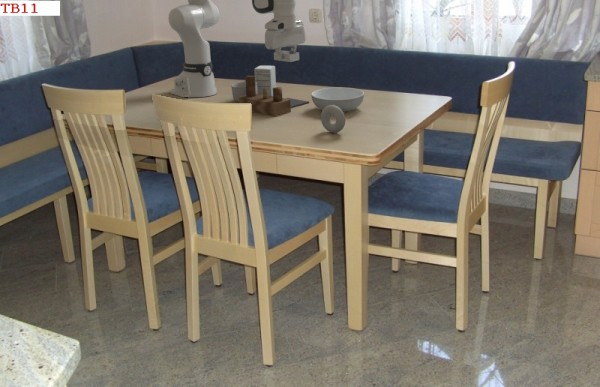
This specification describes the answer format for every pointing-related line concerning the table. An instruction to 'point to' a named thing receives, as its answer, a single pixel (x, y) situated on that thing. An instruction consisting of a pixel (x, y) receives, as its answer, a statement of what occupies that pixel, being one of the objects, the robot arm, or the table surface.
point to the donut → (338, 115)
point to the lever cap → (287, 56)
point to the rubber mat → (297, 102)
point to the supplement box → (265, 79)
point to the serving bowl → (338, 98)
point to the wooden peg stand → (265, 99)
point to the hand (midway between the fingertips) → (286, 57)
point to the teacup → (240, 90)
